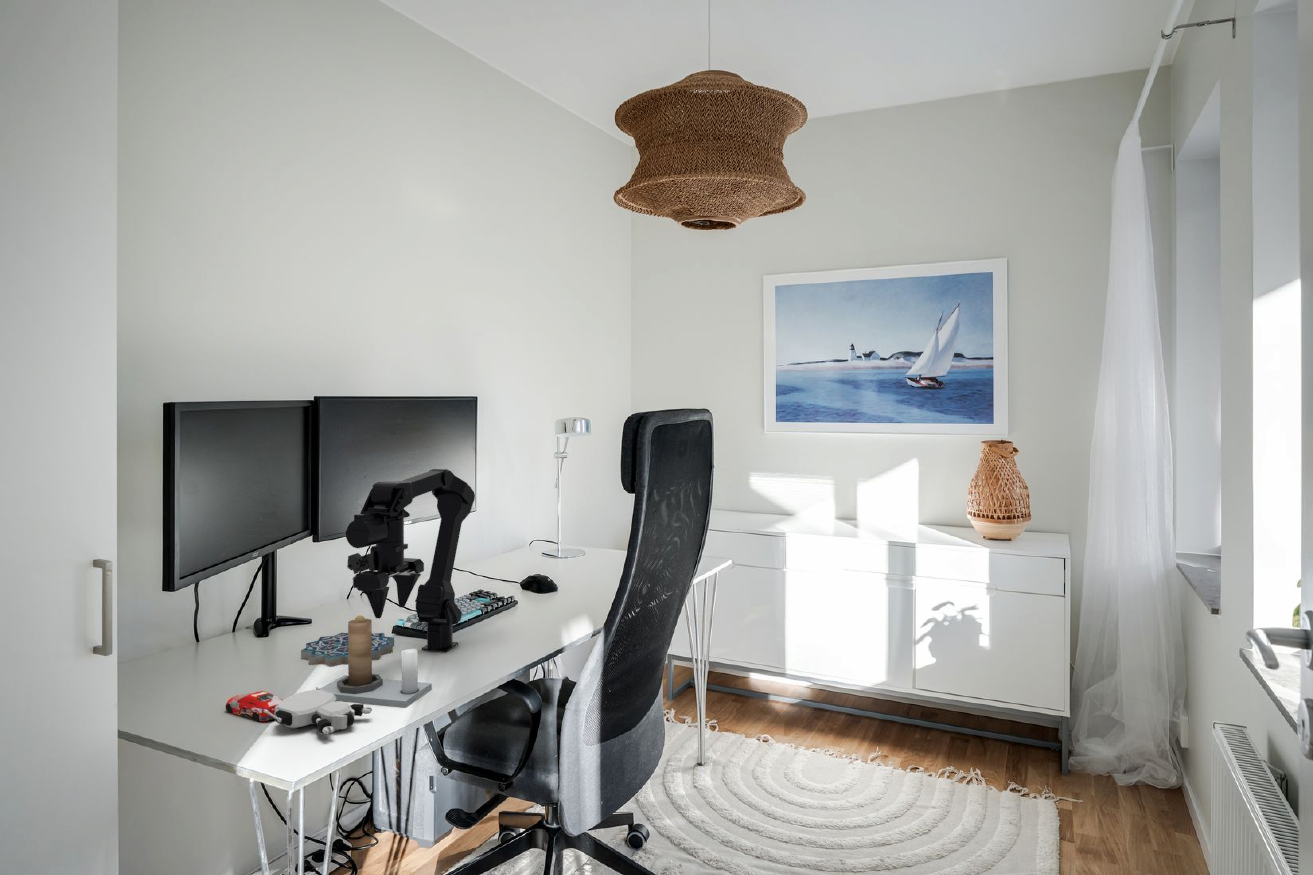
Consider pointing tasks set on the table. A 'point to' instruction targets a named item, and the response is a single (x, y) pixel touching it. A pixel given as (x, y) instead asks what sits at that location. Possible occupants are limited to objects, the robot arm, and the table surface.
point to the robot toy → (317, 711)
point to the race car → (253, 705)
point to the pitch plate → (384, 686)
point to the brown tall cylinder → (360, 651)
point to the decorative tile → (342, 649)
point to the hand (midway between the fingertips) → (390, 612)
